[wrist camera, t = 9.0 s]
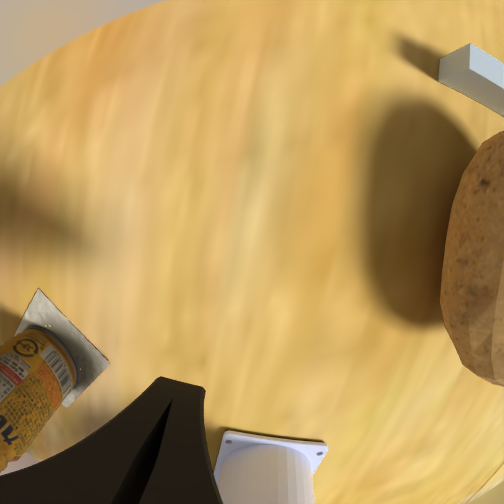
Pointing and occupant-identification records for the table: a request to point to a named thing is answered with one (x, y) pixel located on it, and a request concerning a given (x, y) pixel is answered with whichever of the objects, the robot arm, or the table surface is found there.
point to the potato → (477, 264)
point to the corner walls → (474, 76)
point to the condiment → (41, 374)
